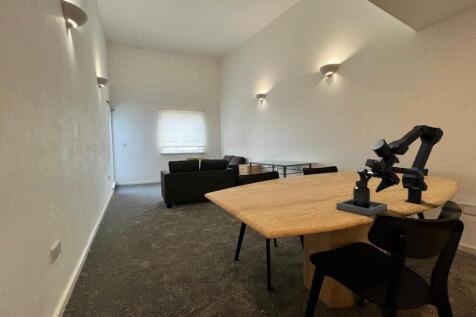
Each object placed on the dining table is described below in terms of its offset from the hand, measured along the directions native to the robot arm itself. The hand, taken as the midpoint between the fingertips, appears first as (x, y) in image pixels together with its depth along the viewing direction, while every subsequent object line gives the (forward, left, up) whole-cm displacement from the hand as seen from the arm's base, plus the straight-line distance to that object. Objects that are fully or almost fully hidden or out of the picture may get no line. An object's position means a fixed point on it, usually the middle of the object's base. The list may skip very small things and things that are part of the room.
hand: (367, 190), depth 110 cm
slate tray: (+3, -1, -9) cm, 9 cm away
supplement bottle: (+3, -1, -8) cm, 9 cm away
